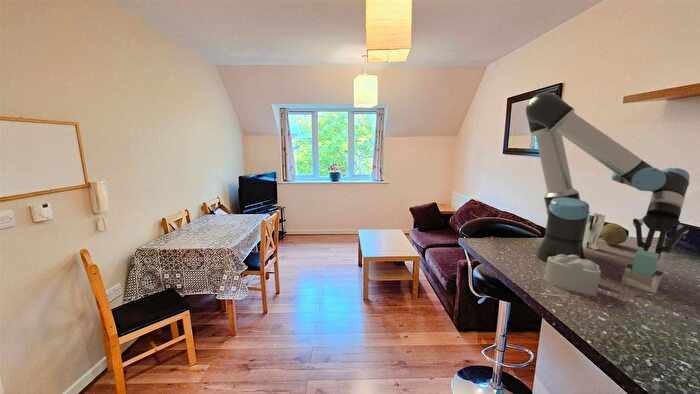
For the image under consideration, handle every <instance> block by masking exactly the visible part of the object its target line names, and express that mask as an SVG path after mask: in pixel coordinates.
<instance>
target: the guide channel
mask: <svg viewBox="0 0 700 394" xmlns="http://www.w3.org/2000/svg"><path fill="white" fill-rule="evenodd" d="M632 267H633V263H628V264H627V265H626V267H625V269H623V273H622V277H621V283H620V284H623V285H627V286H630V287H633V288H636V289H640V290H643V291H647V292H650V293H653V294H657V291H658V289H659V287H660V283H661V279H662V276H663V271H661V270H655V273H654V277H651V276H647V275H644V274H640V273H636V272H632Z"/></svg>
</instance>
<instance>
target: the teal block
mask: <svg viewBox="0 0 700 394" xmlns="http://www.w3.org/2000/svg"><path fill="white" fill-rule="evenodd" d="M658 257H659V254H657V253H653V252H648V251H644V250H643V249H638V250H637V251H636V252H635V255H634V258H633V263H632V265H633V267H632V272H636V273H640V274H644V275H647V276H651V277H654V275H655V272H656V268H657V265H658V262H659V260H658Z"/></svg>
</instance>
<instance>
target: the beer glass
mask: <svg viewBox="0 0 700 394" xmlns="http://www.w3.org/2000/svg"><path fill="white" fill-rule="evenodd" d="M605 219H606V215H605V214H601V213H596V212H589V215H588V218H587V224H586V229H585V234H584V239H583V249H588V250H591V251H598V242H599V239H600V238H601V236H600V235H601V233H602V230H603V227H604V226H605V221H606V220H605Z"/></svg>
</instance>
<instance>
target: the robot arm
mask: <svg viewBox="0 0 700 394" xmlns="http://www.w3.org/2000/svg"><path fill="white" fill-rule="evenodd" d="M525 115H526V118H527V123H528V127H529V131H530V134H531V135H533V136H534V137H535V139H536V143H537V150H538V153H539V158H540V163H541V167H542V174H543V176H544V177H543V178H544V182H545V186H546V193H545V194H544V196H543V198H544V204H545V209H546V214H547V222H546V226H545V234H544V237H543V239H542V241H541V242H540V244H539V246H538V247H537V250H536V257H537V258H538V259H540V260H542V261H544V262H546V263H547V260H548V257H550V256H557V255H560V254H563V255H566V256H568V255H577V256H579V257H580V258H581V259H586V255H585V254H586V253H585V250H584V249H585V248H583V239H584V234H585V229H586V224H587V218H588V215H589V213H590V205H589V203H588V202H587V201H585V200H582V199H581V198H580V194H579V191H578V189H577V190H576V189H575V188H574V187H573V182H572V177H571V173H570V168H569V164H568V158H567V154H566V149H565V144H564V140H563V137H564V138H566V139H567V140H568V141H569V142H571V143H573V144H574V145H576V146H577V147H578V148H579V149H581V151H583V152H585V153H586V154H588V155H589V156H591V157H592V158H593V159H594V160H596V161H597V162H599V163H600V164H601V165H603V166H604V167H606V168H607V169H608V170H610V171H612V175H611V180H612V181H614V182H617V183H619V184H624V185H626V186H630V187H632V188H635V189H636V190H638V191H641V192H651V198H650V201H649V204H648V207H647V210H646V214H645V215H644V216H643V217H642V218H640V219H638V218H632V225H633V226H634V227H635V234H636V235H635V236H636V245H637V247H638V248H642V250H644V251H648V252H653V253H657V254H659V257H658V261H659V260H660V258H661V254H663V253H667V254H669V253H671V251H672V250H674V248H675V246H676V245H677V244H678V243H679V241H680V240H681V239H682V237H683V236H686V235H687V234H689V230H690V227H689V226H687V225H686V226H685V225H682V224H681V221H680V217H681V213H682V209H683V206H684V202H685V197H686V193H687V190H688V188H689V185H690V177H691V176H690V173H689V172H688V171H686V170H685V169H684V168H683V169H682V168H679V167H674V168H672V167H667V168H666V167H665V168H663V169H661V170H660V169H659V168H657V167H653V166H652V165H650V164H649V163H647V162H646V161H644V160H643V159H642V158H640V157H639V156H638V155H636V154H634V153H633V152H632V151H630V150H629V149H627V148H626V147H624V146H623V145H621V144H620V143H618V142H617V141H616V140H614V139H613V138H611V137H610V136H608V135H607V134H606V133H604V132H602V131H601V130H600V129H599V128H596V127H595V126H594V125H592V124H591V123H590V122H588V121H586V120H585V119H584V118H582V117H581V116H579V115H578V114H576V113H575V108H574V107H572V106H571V105H569V104H568V103H567V102H566V101H564V100H563V99H562V98H561V97H560V96H559V95H558V94H555V93H553V92H541V93H538V94H536V95H533V96H532V98H530V100H529V101H528V102H527V105H526V108H525ZM643 225H645V226H646V227H647V229H648V232H647V236H646V239H645V242H644V241H643V232H642V226H643ZM675 229H676V232H675V233H674V234H673V236H672V237H671V238H670V240H669V241H668V242H667V243H666V245H665V246H664V243H665V240H666V237H667V234H668V233H669V232H671V231H673V230H675ZM656 232H659V236H658V239H657V243H656V247H652V243H653V239H654V236H655V233H656ZM586 260H587V259H586Z"/></svg>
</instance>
